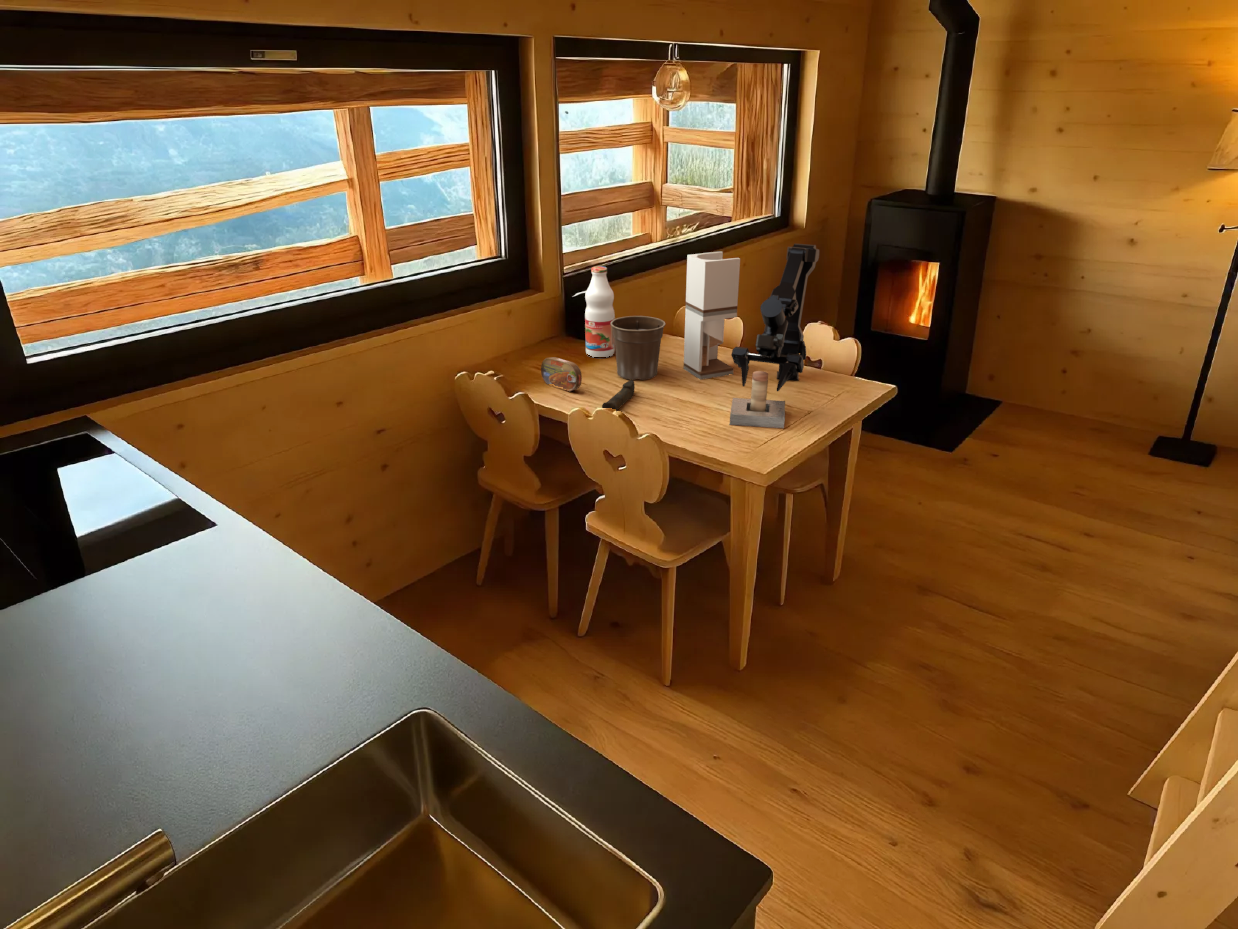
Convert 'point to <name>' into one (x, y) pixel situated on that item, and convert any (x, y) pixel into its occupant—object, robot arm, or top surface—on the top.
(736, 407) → the square hole block
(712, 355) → the white tower stand
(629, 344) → the plant pot
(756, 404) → the beech pin
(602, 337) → the fruit juice
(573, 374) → the tin
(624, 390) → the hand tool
